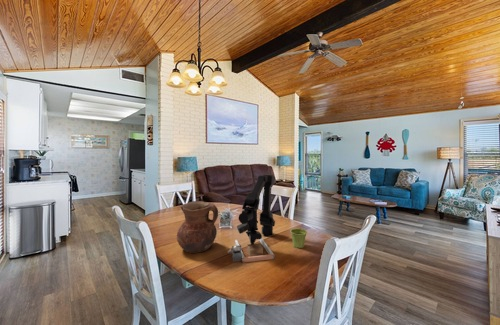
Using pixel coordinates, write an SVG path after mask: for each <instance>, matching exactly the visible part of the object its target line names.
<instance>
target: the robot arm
mask: <svg viewBox="0 0 500 325" xmlns="http://www.w3.org/2000/svg"><path fill="white" fill-rule="evenodd" d="M275 181H276V177H275V176H274V174H266V173H264V174H263V175H262V174H260V175H258V177H257V181H256V183H255V184H254V186H253V189H252V190H251V192H250V193H248V194H247V195H246V197H245V198H244V200H243V205H242V208H241V209H242V211H241V213H240V214H239V215H238V221H239V223H240V224H238V225H237V226H236V228H237V231H238V233H239V234H243V233H246V234H247V237H248V238H249V243H250V244H256V241H257V240H260V239H263V237H270V236H275V235H274V233H273V232H274V228H273V227H275V224H276V221H275V219H274V216H273V215H274V214H273V213H272V211H271V208H272V207H271V204H272V188H273V186H274V185H275ZM262 191H263V202H262V204H263V206H262V211H261V212H260V214H259V220H258V209H259V205H260V200H261V199H260V196H261V194H262ZM258 223H259V224H260V226H261V232H260V231H259V228H258ZM262 235H263V236H262Z"/></svg>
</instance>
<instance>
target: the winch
mask: <svg viewBox="0 0 500 325" xmlns="http://www.w3.org/2000/svg"><path fill="white" fill-rule="evenodd" d="M242 249H243V248H242V245H240V244H239V246H236V245H232V246H231V247H230V250H228V251H227V254H232V255H231V257H232V262H242V259H241V250H242Z"/></svg>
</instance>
